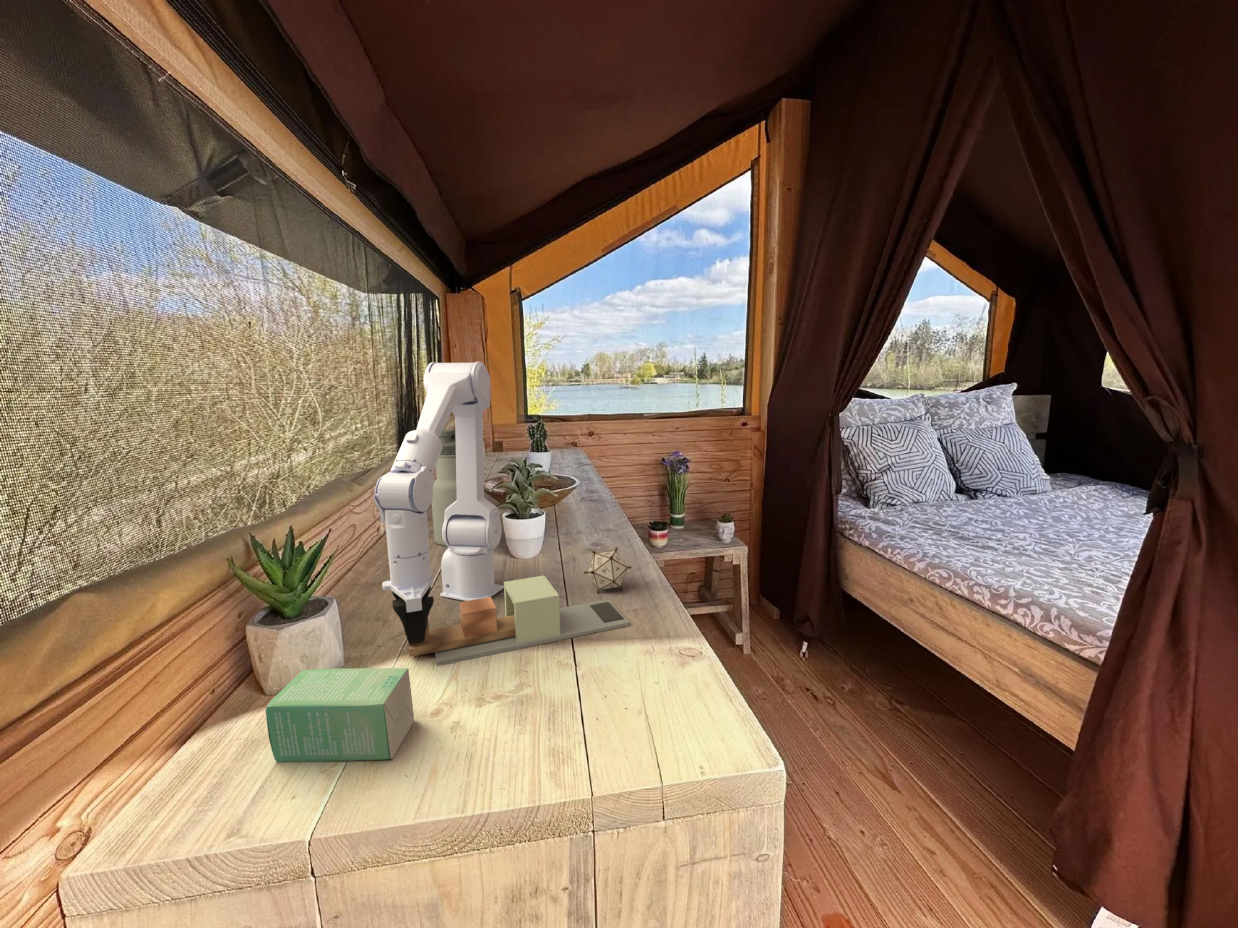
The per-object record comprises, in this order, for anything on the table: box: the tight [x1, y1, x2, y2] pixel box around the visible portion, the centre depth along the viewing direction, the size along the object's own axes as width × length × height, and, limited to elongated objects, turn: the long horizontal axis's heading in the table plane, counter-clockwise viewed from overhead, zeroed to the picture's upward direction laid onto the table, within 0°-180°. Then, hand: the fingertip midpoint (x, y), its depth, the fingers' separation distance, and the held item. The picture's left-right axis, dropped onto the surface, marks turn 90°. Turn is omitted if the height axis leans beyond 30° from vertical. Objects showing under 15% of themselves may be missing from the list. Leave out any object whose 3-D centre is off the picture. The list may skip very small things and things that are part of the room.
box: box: [265, 667, 415, 763], centre depth 64 cm, size 7×14×8 cm, turn 90°
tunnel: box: [503, 575, 561, 644], centre depth 90 cm, size 7×9×7 cm
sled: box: [407, 596, 516, 658], centre depth 86 cm, size 21×5×6 cm, turn 113°
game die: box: [583, 546, 633, 594], centre depth 106 cm, size 9×8×10 cm
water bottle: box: [431, 428, 460, 547], centre depth 135 cm, size 10×10×28 cm
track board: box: [434, 599, 631, 666], centre depth 90 cm, size 31×10×1 cm, turn 113°
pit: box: [590, 602, 623, 623], centre depth 95 cm, size 4×7×1 cm, turn 23°
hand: (415, 636), depth 83 cm, fingers closed on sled, 3 cm apart
